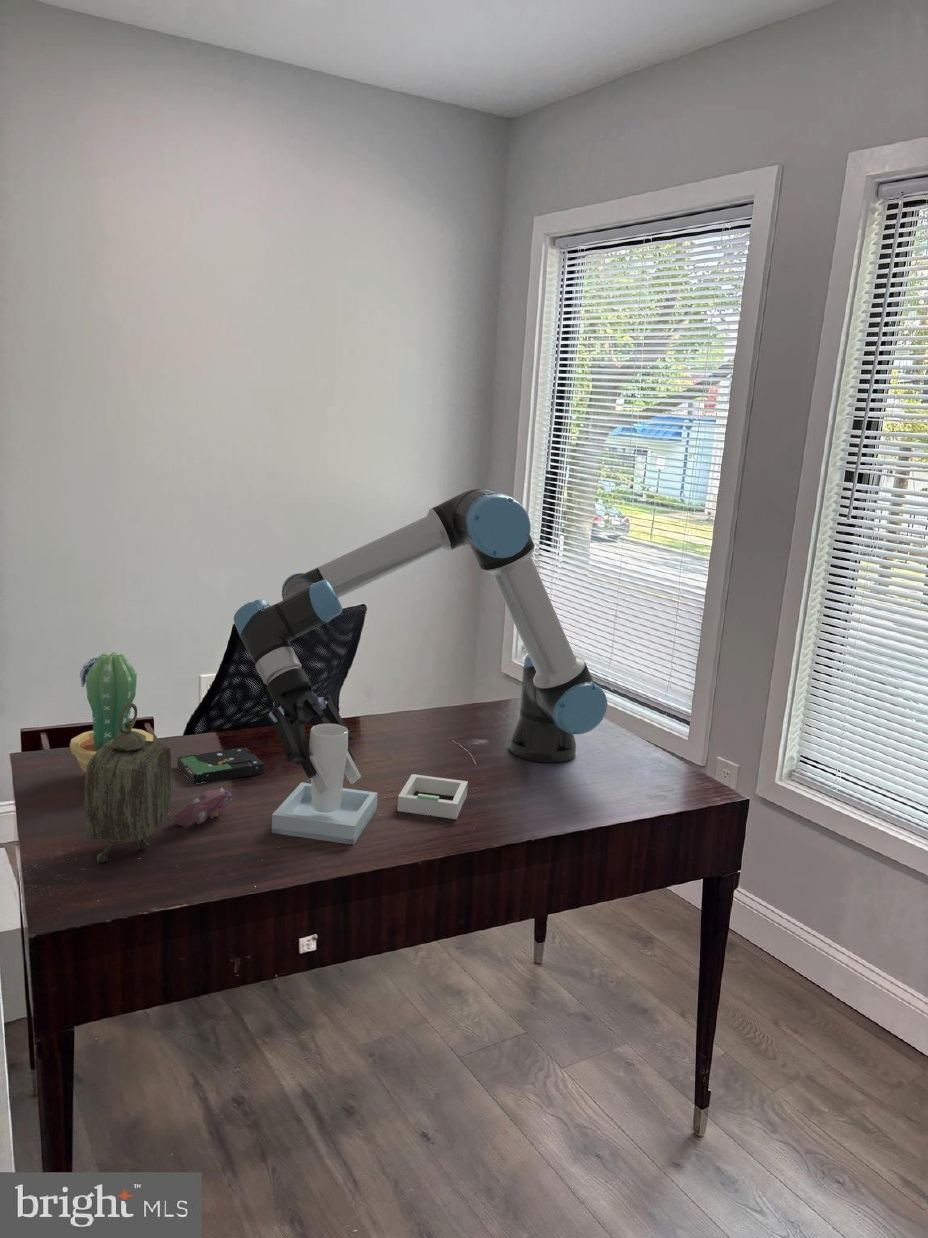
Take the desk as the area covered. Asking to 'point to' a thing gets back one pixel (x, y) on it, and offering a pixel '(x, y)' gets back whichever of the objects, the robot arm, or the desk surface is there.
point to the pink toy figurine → (204, 807)
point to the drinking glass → (329, 763)
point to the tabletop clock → (127, 788)
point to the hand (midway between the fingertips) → (340, 785)
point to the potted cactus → (105, 703)
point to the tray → (325, 816)
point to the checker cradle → (429, 802)
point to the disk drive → (220, 765)
